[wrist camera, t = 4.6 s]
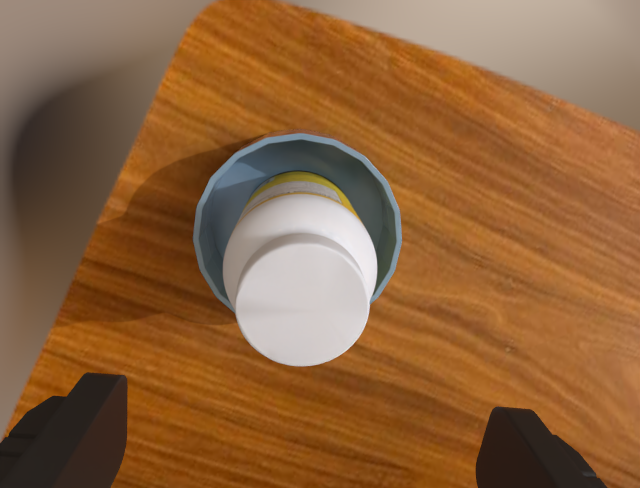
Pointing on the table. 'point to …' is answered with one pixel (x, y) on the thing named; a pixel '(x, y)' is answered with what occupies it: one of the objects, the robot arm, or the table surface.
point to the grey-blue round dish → (287, 155)
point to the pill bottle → (300, 270)
